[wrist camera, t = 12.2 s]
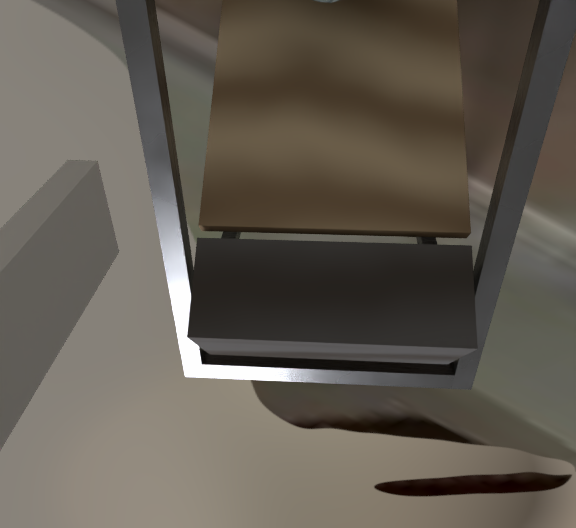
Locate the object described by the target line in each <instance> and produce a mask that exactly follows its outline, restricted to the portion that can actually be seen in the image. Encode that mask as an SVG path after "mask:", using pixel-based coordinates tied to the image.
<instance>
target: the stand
mask: <svg viewBox="0 0 576 528" xmlns="http://www.w3.org/2000/svg"><path fill="white" fill-rule="evenodd" d="M116 5H117V10H118V15H119V21H120V26H121V32H122V37H123V43H124V48H125V53H126V59H127V64H128V70H129V75H130V80H131V85H132V91H133V97H134V102H135V107H136V113H137V118H138V123H139V129H140V135H141V140H142V145H143V151H144V156H145V162H146V167H147V173H148V178H149V183H150V189H151V194H152V200H153V205H154V211H155V216H156V222H157V227H158V232H159V238H160V243H161V249H162V254H163V259H164V265H165V270H166V275H167V281H168V287H169V292H170V298H171V303H172V308H173V314H174V319H175V325H176V330H177V336H178V341H179V346H180V352H181V357H182V363H183V368H184V373H185V377H201V378H224V379H246V380H268V381H291V382H313V383H336V384H358V385H380V386H403V387H425V388H448V389H470V390H471V388H472V385H473V381H474V378H475V375H476V371H477V368H478V364H479V361H480V357H481V354H482V350H483V347H484V344H485V340H486V337H487V333H488V330H489V326H490V323H491V319H492V316H493V313H494V309H495V306H496V302H497V299H498V295H499V292H500V288H501V285H502V282H503V278H504V275H505V271H506V268H507V264H508V261H509V257H510V254H511V250H512V247H513V244H514V240H515V237H516V233H517V230H518V226H519V223H520V219H521V216H522V213H523V209H524V206H525V202H526V199H527V195H528V192H529V188H530V185H531V182H532V178H533V175H534V171H535V168H536V164H537V161H538V157H539V154H540V150H541V147H542V144H543V140H544V137H545V133H546V130H547V126H548V123H549V119H550V116H551V113H552V109H553V106H554V102H555V99H556V95H557V92H558V88H559V85H560V82H561V78H562V75H563V71H564V68H565V64H566V61H567V57H568V54H569V50H570V47H571V44H572V40H573V37H574V33H575V30H576V0H540V1H539V5H538V9H537V13H536V18H535V22H534V26H533V30H532V34H531V38H530V42H529V46H528V50H527V54H526V58H525V62H524V66H523V71H522V75H521V79H520V83H519V87H518V91H517V95H516V99H515V103H514V107H513V111H512V115H511V120H510V124H509V128H508V132H507V136H506V140H505V144H504V148H503V152H502V156H501V160H500V164H499V168H498V173H497V177H496V181H495V185H494V189H493V193H492V197H491V201H490V205H489V209H488V213H487V217H486V221H485V226H484V230H483V234H482V238H481V242H480V246H479V250H478V254H477V258H476V262H475V266H474V270H473V278H474V294H475V311H476V328H477V344H478V349H477V350H475V351H473V352H471V353H469V354H467V355H465V356H463V357H461V358H459V359H457V360H455V361H453V362H451V363H449V364H426V363H402V362H378V361H354V360H331V359H307V358H283V357H259V356H235V355H211V354H209V353H207V352H206V351H205V350H203V349H202V348H201V347H199V346H198V345H197V344H195V343H194V342H193V341H191V340H190V339H188V338H187V331H188V322H189V312H190V303H191V293H192V284H193V274H194V270H193V263H192V257H191V249H190V242H189V235H188V228H187V221H186V214H185V207H184V201H183V194H182V187H181V180H180V173H179V166H178V159H177V152H176V145H175V139H174V132H173V125H172V118H171V111H170V104H169V97H168V90H167V83H166V76H165V70H164V63H163V56H162V49H161V42H160V35H159V28H158V21H157V14H156V8H155V1H154V0H116ZM240 234H241V232H224V231H223V234H222V237H221V239H239V238H240ZM416 238H417V243H418V244H430V245H437V241H436V238H435V237H416Z"/></svg>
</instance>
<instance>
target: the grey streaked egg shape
mask: <svg viewBox="0 0 576 528" xmlns="http://www.w3.org/2000/svg"><path fill="white" fill-rule="evenodd" d="M314 1H318V2H326V3H332V2H336V1H340V0H314Z"/></svg>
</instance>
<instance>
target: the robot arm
mask: <svg viewBox="0 0 576 528" xmlns="http://www.w3.org/2000/svg"><path fill="white" fill-rule="evenodd" d="M118 253H119V249H118V245H117V241H116V237H115V233H114V228H113V224H112V220H111V216H110V212H109V208H108V204H107V199H106V195H105V191H104V186H103V182H102V178H101V174H100V170H99V165H98V161H80V160H68V161H67V162H66V163H65V164H64V165H63V166H62V167H61V168H60V169H59V170H58V171H57V172H56V173H55V174H54V175H53V176H52V177H51V178H50V179H49V180H48V181H47V182H46V183H45V184H44V185H43V186H42V187H41V188H40V189H39V190H38V191H37V192H36V193H35V194H34V195H33V196H32V198H30V199H29V200H28V201H27V202H26V203H25V204H24V205H23V206H22V207H21V208H20V209H19V211H18V212H17V213H16V214H15V215H14V216H13V217H12V218H11V219H10V220H9V221H8V222H7V223H6V224H5V225H4V226H3V227H2V228H1V229H0V450H1V449H2V447H3V445H4V444H5V442H6V440H7V438H8V437H9V435H10V434H11V432H12V430H13V429H14V427H15V425H16V423H17V422H18V420H19V419H20V417H21V415H22V413H23V412H24V410H25V409H26V407H27V405H28V404H29V402H30V400H31V399H32V397H33V395H34V393H35V392H36V390H37V388H38V387H39V385H40V383H41V382H42V380H43V378H44V376H45V375H46V373H47V372H48V370H49V368H50V367H51V365H52V363H53V362H54V360H55V358H56V357H57V355H58V353H59V351H60V350H61V348H62V347H63V345H64V343H65V342H66V340H67V338H68V337H69V335H70V333H71V332H72V330H73V328H74V327H75V325H76V323H77V322H78V320H79V318H80V317H81V315H82V313H83V311H84V310H85V308H86V306H87V305H88V303H89V301H90V300H91V298H92V296H93V295H94V293H95V291H96V290H97V288H98V286H99V285H100V283H101V281H102V280H103V278H104V276H105V275H106V273H107V271H108V270H109V268H110V266H111V265H112V263H113V261H114V260H115V258H116V256H117V255H118Z"/></svg>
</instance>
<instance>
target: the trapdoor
mask: <svg viewBox="0 0 576 528" xmlns="http://www.w3.org/2000/svg"><path fill="white" fill-rule="evenodd" d="M199 227H200V229H201V230H202V231H224V232H260V233H296V234H332V235H369V236H405V237H441V238H467V237H468V236H469V234H470V233H471V227H470V211H469V194H468V177H467V161H466V144H465V127H464V110H463V94H462V77H461V60H460V44H459V27H458V10H457V0H340V1H336V2H332V3H326V2H318V1H314V0H223V1H222V11H221V20H220V29H219V39H218V48H217V58H216V67H215V77H214V86H213V95H212V105H211V114H210V124H209V133H208V143H207V152H206V161H205V171H204V180H203V190H202V199H201V208H200V218H199ZM187 338H188V339H190V340H191V341H193V342H194V343H195V344H197V345H198V346H199V347H201V348H202V349H203V350H205V351H206V352H207V353H209V354H211V355H235V356H259V357H283V358H307V359H331V360H354V361H378V362H402V363H426V364H449V363H451V362H453V361H455V360H457V359H459V358H461V357H463V356H465V355H467V354H469V353H471V352H473V351H475V350H477V349H478V344H477V328H476V311H475V294H474V278H473V261H472V246H465V245H430V244H395V243H360V242H325V241H289V240H254V239H219V238H197V246H196V257H195V265H194V274H193V284H192V293H191V303H190V312H189V322H188V331H187Z"/></svg>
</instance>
